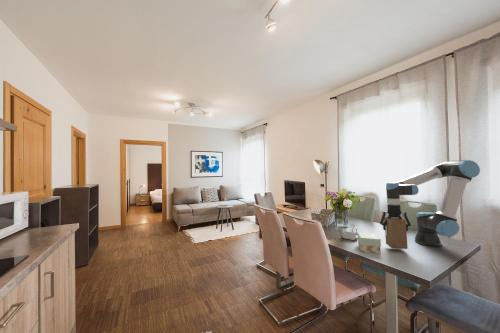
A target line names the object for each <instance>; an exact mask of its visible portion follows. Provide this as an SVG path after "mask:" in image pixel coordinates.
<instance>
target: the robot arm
mask: <svg viewBox="0 0 500 333" xmlns="http://www.w3.org/2000/svg"><path fill="white" fill-rule="evenodd" d="M480 172H481V168H480V166H479V164H478V163H477V162H475V161H474V160H470V159H461V160H460V159H459V160H448V161H444V162H442V163H439V164H436V165H433V166H432V167H430V168H429V169H427V170H426V171H422V172H420V173H419V172H418V173H416V174H414V175H412V176H410V177H407V178H405V179H402V180H400V181H397V182H396V181H390V182H386V184H385V190H386V191H385V192H386V203H387V205H386V206H387V210H386V211H385V210H382V215H381V218H380V222H379V225H380V226H382V230H383V231H384V235H385V234H386V235H387V226H386V224H387V220H385V221H384V218H385V217H387V218H388V219H390V218H391V217H396V218H399V219H404V220H405V221H406V232H408V231H409V229H408V228H409V227H411V226H412V224H411V222H410V220H409V218H408V216H407V212H406V211H402V210H401V199H400V198H401V197H400V196H416V195H417V194H418V193H419V192H420V191H419V187H418V186H420V185H422V184H425V183H428V182H430V181H432V180H435V179H441V178H446V177H447V179H449V180H448V184H447V186H446V189H445V193H444V195H443V196H442V201H441V203H440V206H439V209H438V211H436V212H429V211H428V212H425V211H423V212H422V211H420V212H416V217H415V218H416V233H415V236H414V242H416V243H417V244H420V245H423V246H427V247H440V246H442V241H441V238H440V236H442V237H443V236H444V237H447V238H449V237H454V236H455V235H458V233H459V232H460V225H459V223H458V221H457V220H458V218H457V216H456V215H457V212H458V209H459V207H460V204H461V200H462V198H463V196H464V192H465V189H466V186H467V184H468V183H471V181H472V180H473V179H474V178H476V177H477V176H479V175H480ZM387 214H388V215H387ZM386 215H387V216H386ZM401 215H403V217H404V218H402V216H401ZM439 235H440V236H439Z"/></svg>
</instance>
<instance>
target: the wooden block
mask: <svg viewBox="0 0 500 333" xmlns="http://www.w3.org/2000/svg"><path fill="white" fill-rule="evenodd" d="M387 217H388V216H385V218H384V221H385V220H387V224H386V226H387V235H386V234H385V233H384V235H385V236H384V237H385V244H386V245H387V246H388V247H390V249H393V250H394V249H395V250H396V249H397V250H407V249H409V248H408V235H407V234H408V231H406V224H407V222H406V220H405V218H402V219H399V218H396V217H391V218H390V219H388V218H387ZM384 221H383V222H384Z"/></svg>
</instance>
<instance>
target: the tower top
mask: <svg viewBox="0 0 500 333" xmlns="http://www.w3.org/2000/svg"><path fill="white" fill-rule="evenodd" d="M357 233H358V239H357V241H358V240H359V242H360V244H361V245H367V246H379V247H380V248H382V247H381V246H382V240H381V238H380V236H378V234H377V233H367V232H357Z"/></svg>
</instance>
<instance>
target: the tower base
mask: <svg viewBox="0 0 500 333" xmlns="http://www.w3.org/2000/svg"><path fill="white" fill-rule="evenodd" d="M357 243H358V248H359V250H360V252H361V253H372V254H381V247H379V246H367V245H361V244H360V242H359V240H358V239H357Z"/></svg>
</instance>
